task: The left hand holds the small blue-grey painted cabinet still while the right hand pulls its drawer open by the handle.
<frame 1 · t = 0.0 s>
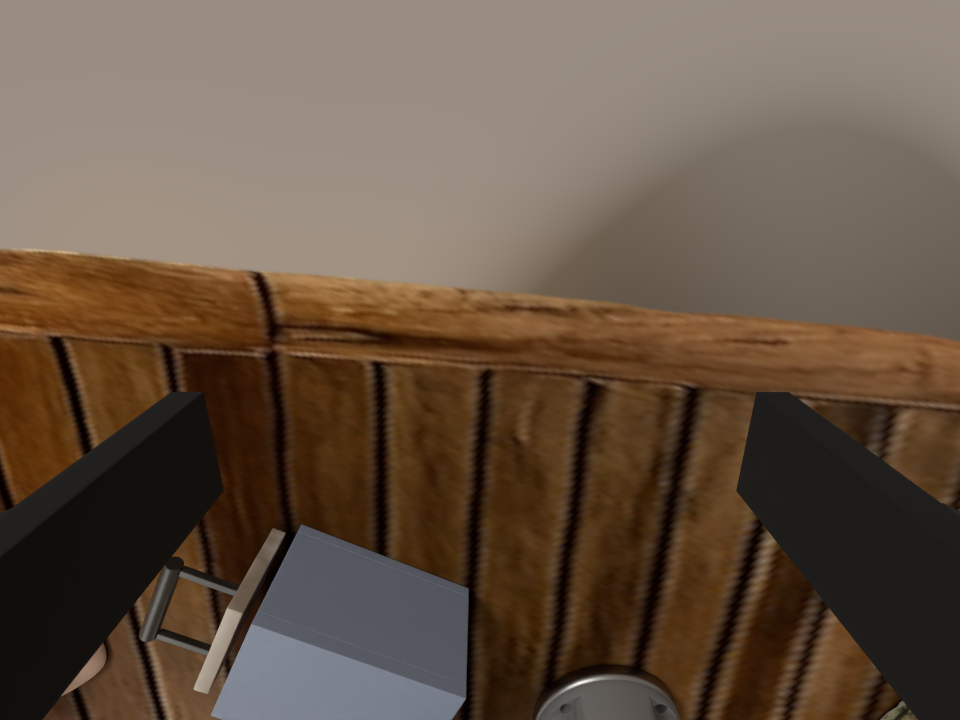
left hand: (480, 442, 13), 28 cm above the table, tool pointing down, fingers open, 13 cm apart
drawer: (290, 623, 44), point 6 cm above the table, slide at 0.9 cm
cabinet: (366, 595, 50), on the table
anatomical model: (49, 645, 52), on the table
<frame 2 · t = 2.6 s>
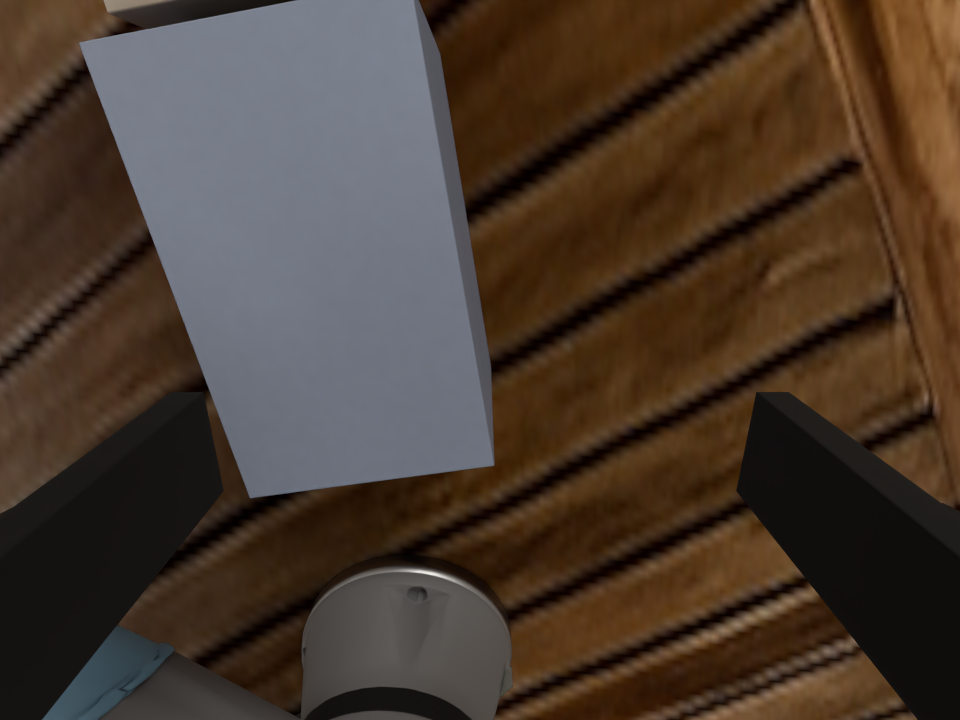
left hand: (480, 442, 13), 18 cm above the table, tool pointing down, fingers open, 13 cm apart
drawer: (319, 122, 22), point 6 cm above the table, slide at 0.9 cm
cabinet: (375, 241, 29), on the table
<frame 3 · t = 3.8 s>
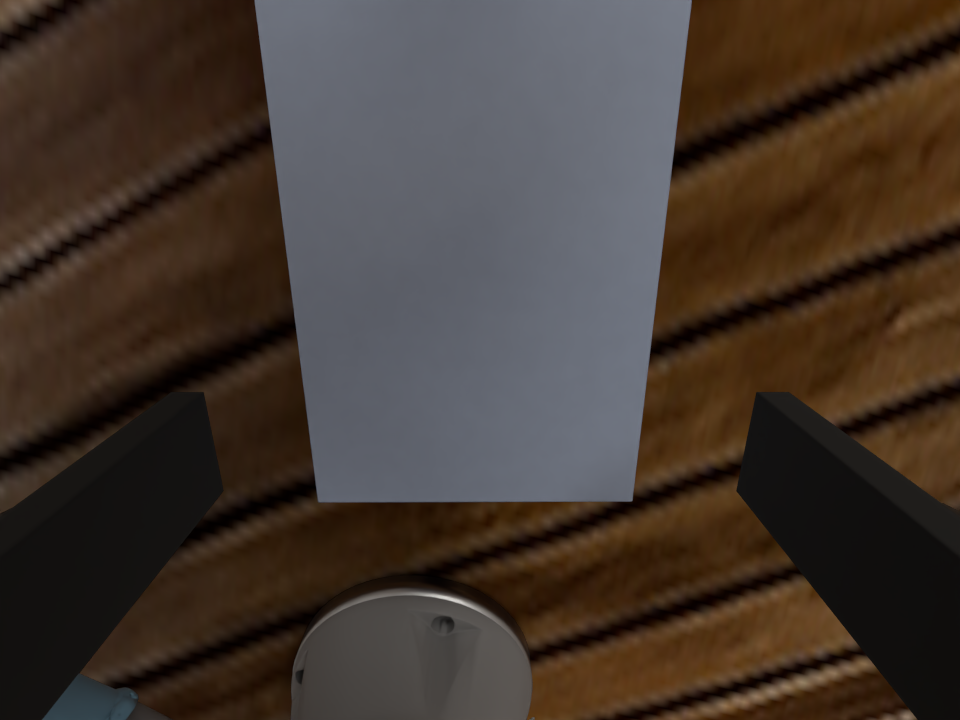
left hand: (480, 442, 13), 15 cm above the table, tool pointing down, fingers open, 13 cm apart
cabinet: (475, 212, 25), on the table
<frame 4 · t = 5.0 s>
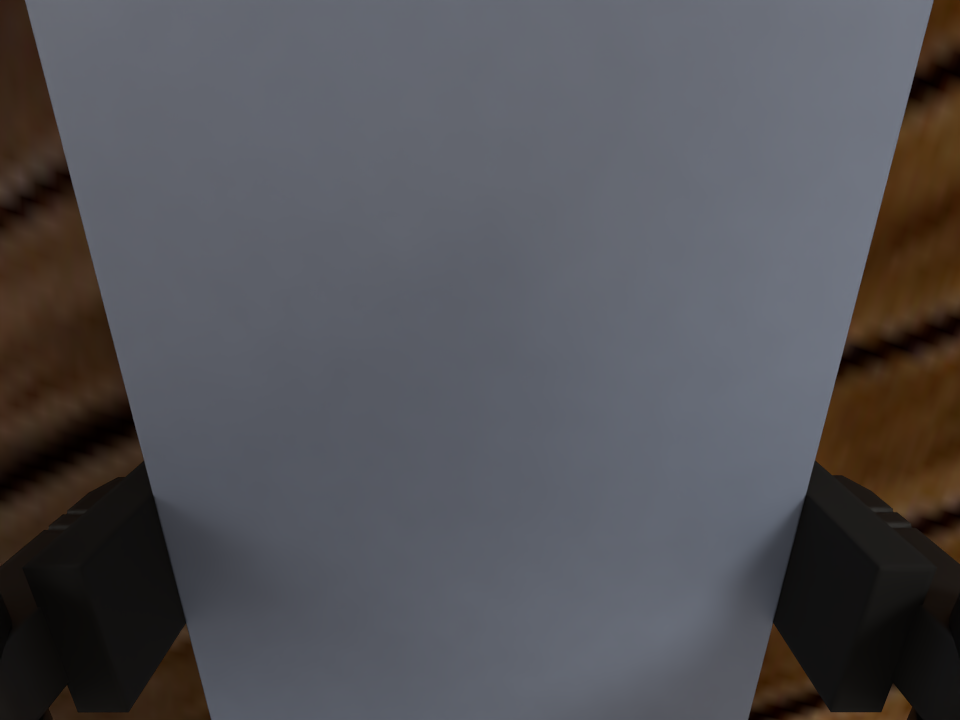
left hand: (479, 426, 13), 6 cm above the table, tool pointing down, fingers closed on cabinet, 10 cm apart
cabinet: (479, 223, 18), on the table, touching left hand
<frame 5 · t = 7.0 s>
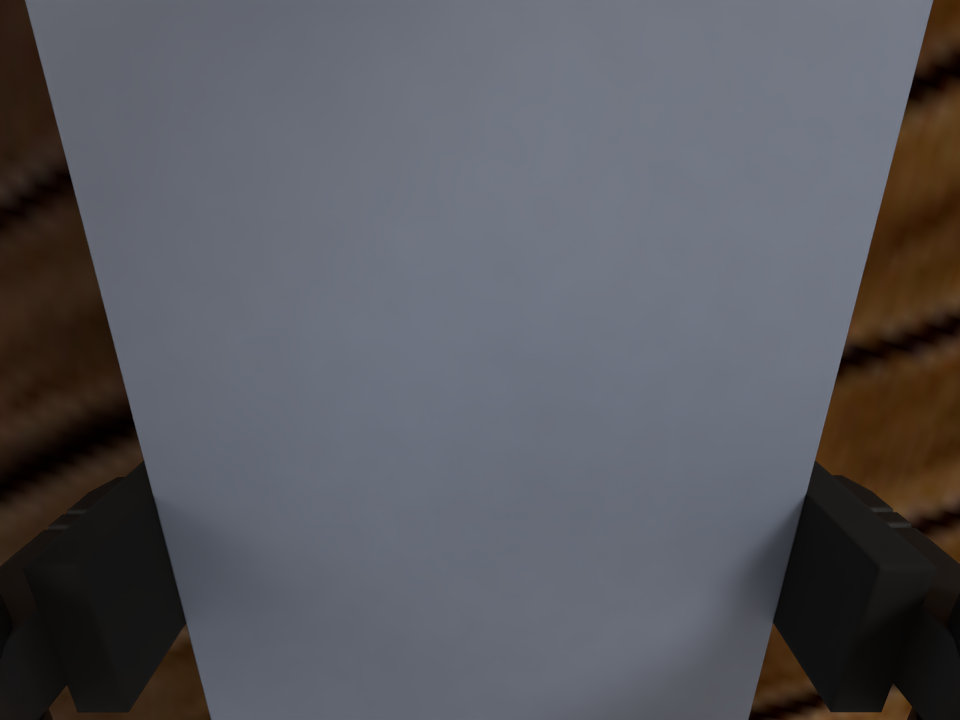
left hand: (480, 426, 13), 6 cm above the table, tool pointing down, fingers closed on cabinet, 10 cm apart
cabinet: (479, 223, 18), on the table, touching left hand
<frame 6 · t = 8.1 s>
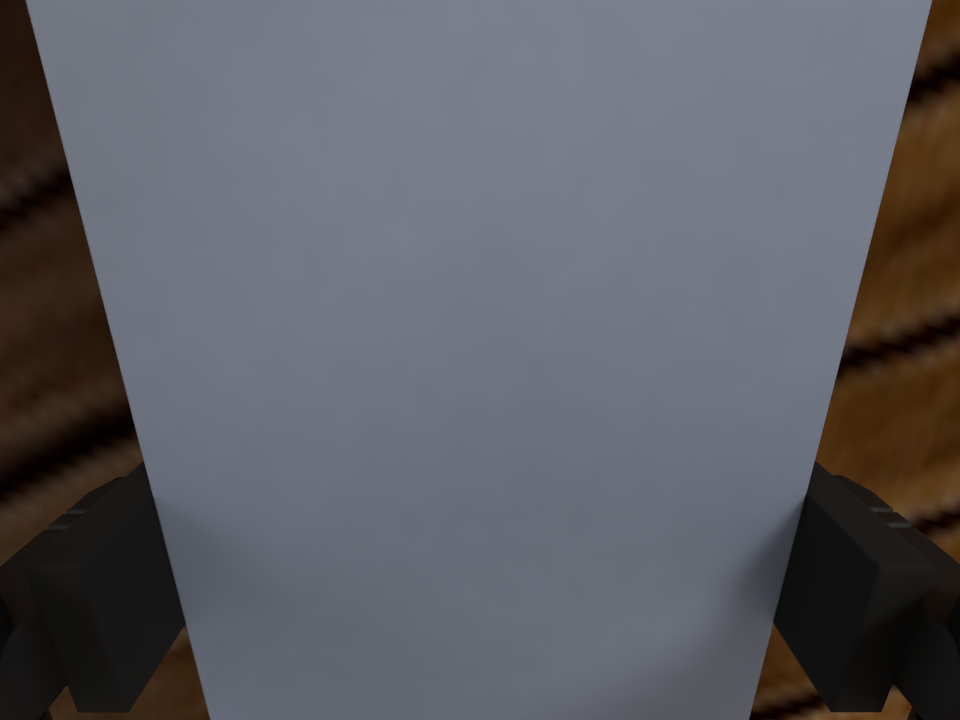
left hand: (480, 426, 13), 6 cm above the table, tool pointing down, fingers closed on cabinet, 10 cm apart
cabinet: (479, 224, 18), on the table, touching left hand
when the left hand's fingers open (6 cm above the table, at t = 9.8 s): cabinet stays where it is, on the table.
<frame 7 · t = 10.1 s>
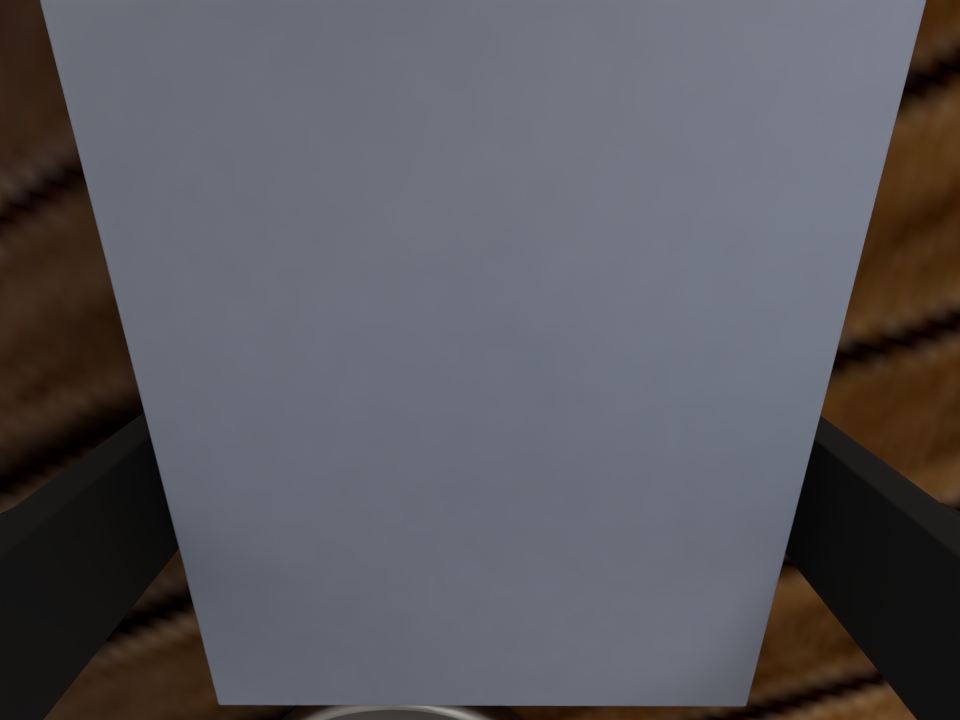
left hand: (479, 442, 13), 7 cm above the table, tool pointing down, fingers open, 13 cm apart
cabinet: (481, 214, 18), on the table
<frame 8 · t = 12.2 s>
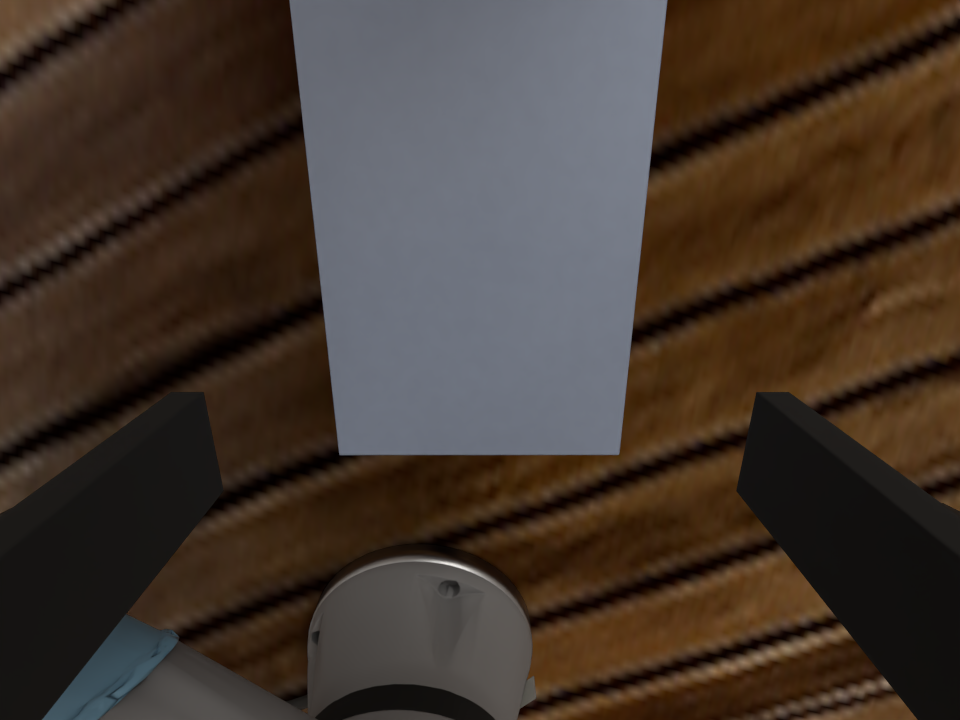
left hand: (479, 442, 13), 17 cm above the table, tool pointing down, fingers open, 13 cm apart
cabinet: (479, 200, 27), on the table
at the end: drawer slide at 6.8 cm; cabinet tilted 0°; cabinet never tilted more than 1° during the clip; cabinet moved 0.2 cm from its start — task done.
